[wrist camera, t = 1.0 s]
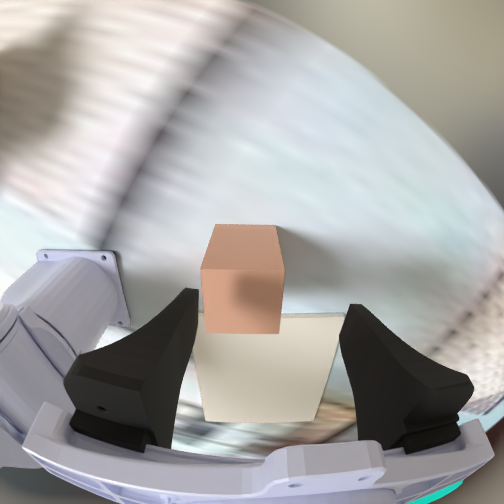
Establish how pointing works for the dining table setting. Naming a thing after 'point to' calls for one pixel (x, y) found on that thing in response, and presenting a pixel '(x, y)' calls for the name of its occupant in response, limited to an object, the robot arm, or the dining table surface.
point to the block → (243, 280)
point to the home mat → (266, 369)
